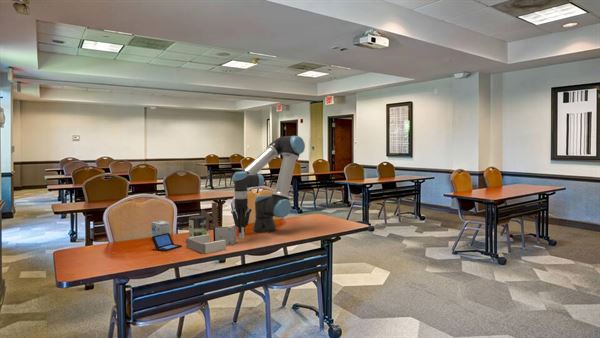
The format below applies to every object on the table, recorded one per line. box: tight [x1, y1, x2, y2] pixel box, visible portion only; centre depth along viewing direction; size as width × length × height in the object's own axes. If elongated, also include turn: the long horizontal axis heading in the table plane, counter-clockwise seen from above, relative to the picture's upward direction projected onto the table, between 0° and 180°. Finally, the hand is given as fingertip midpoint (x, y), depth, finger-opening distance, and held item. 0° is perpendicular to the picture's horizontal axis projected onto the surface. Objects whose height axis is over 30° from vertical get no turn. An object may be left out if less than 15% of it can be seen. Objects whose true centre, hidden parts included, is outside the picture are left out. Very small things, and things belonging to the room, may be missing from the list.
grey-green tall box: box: [188, 214, 208, 238], centre depth 232 cm, size 10×10×14 cm
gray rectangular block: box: [212, 224, 237, 246], centre depth 220 cm, size 14×5×10 cm, turn 118°
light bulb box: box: [151, 220, 171, 238], centre depth 235 cm, size 11×7×11 cm, turn 47°
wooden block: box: [201, 201, 220, 231], centre depth 263 cm, size 4×11×18 cm, turn 130°
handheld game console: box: [151, 233, 182, 252], centre depth 214 cm, size 12×11×7 cm
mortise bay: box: [185, 233, 227, 255], centre depth 213 cm, size 14×20×5 cm
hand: (241, 238), depth 228 cm, fingers closed
